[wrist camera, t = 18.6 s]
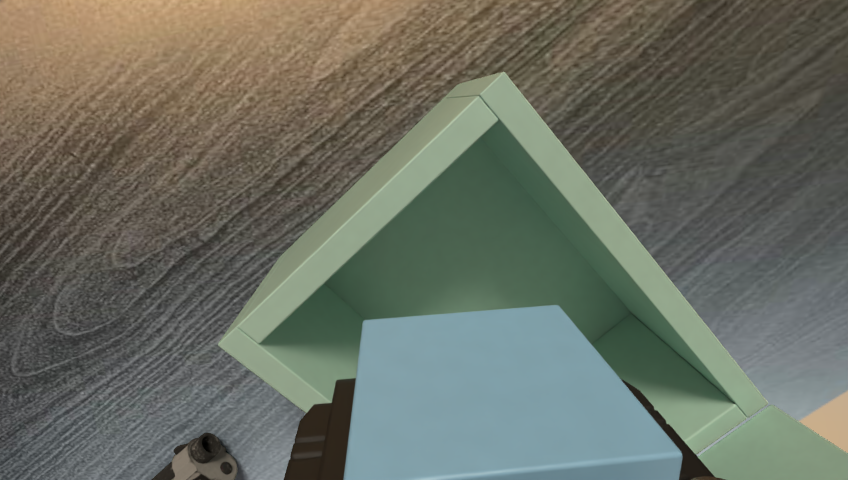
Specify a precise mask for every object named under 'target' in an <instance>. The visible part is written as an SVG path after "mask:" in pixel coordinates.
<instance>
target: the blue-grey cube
mask: <svg viewBox="0 0 848 480" xmlns="http://www.w3.org/2000/svg"><path fill="white" fill-rule="evenodd" d="M682 458H683V456H682V453H681V451H680V450H679V448H678V447H677V446H676V445H675V444H674V442H673V441H672V440H671V439H670V438H669V436H668V435H667V434H666V433H665V432H664V430H663V429H662V428H661V427H660V426H659V424H658V423H657V422H656V421H655V420H654V419H653V417H652V416H651V415H650V414H649V413H648V411H647V410H646V409H645V408H644V407H643V405H642V404H641V403H640V402H639V401H638V399H637V398H636V397H635V396H634V395H633V393H632V392H631V391H630V390H629V389H628V387H627V386H626V385H625V384H624V383H623V381H622V380H621V379H620V378H619V377H618V375H617V374H616V373H615V372H614V371H613V369H612V368H611V367H610V366H609V365H608V364H607V362H606V361H605V360H604V359H603V358H602V356H601V355H600V354H599V353H598V352H597V350H596V349H595V348H594V347H593V346H592V344H591V343H590V342H589V341H588V340H587V338H586V337H585V336H584V335H583V334H582V332H581V331H580V330H579V329H578V328H577V326H576V325H575V324H574V323H573V322H572V320H571V319H570V318H569V317H568V316H567V315H566V313H565V312H564V311H563V310H562V309H561V307H560V306H559V305H549V306H537V307H524V308H511V309H499V310H486V311H473V312H461V313H448V314H435V315H423V316H410V317H397V318H385V319H372V320H364V321H363V323H362V332H361V340H360V348H359V356H358V364H357V372H356V380H355V388H354V396H353V405H352V413H351V421H350V429H349V437H348V445H347V453H346V461H345V470H344V478H343V480H679V476H680V470H681V464H682Z"/></svg>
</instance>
